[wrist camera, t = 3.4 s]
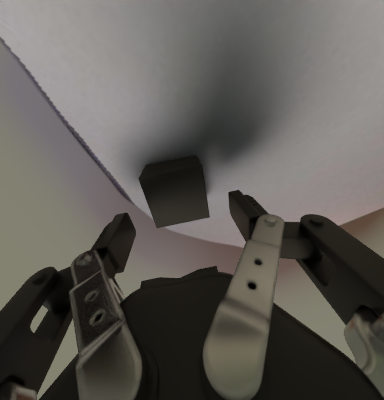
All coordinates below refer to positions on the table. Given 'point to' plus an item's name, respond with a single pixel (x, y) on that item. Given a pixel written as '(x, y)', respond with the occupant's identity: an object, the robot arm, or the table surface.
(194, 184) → the black square block
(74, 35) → the table surface
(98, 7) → the table surface
